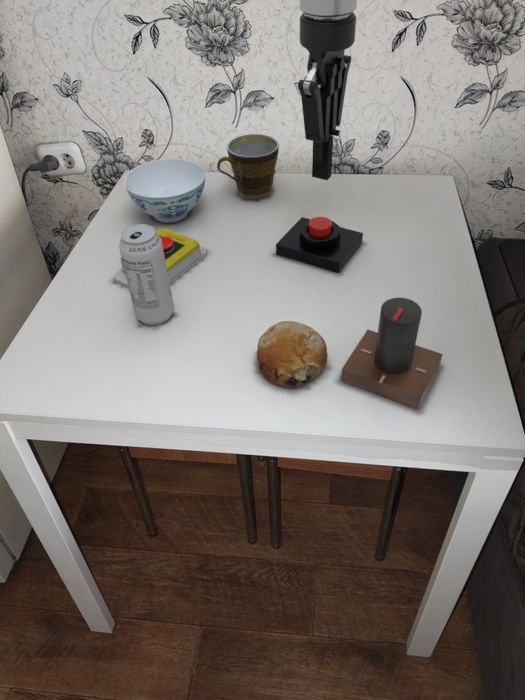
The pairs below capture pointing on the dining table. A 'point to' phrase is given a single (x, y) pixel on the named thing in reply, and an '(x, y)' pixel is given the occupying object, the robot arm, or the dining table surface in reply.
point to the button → (320, 227)
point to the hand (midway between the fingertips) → (321, 176)
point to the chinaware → (166, 187)
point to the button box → (319, 246)
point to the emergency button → (173, 255)
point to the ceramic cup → (252, 164)
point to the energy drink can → (146, 274)
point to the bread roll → (291, 354)
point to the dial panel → (392, 386)
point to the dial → (397, 335)
